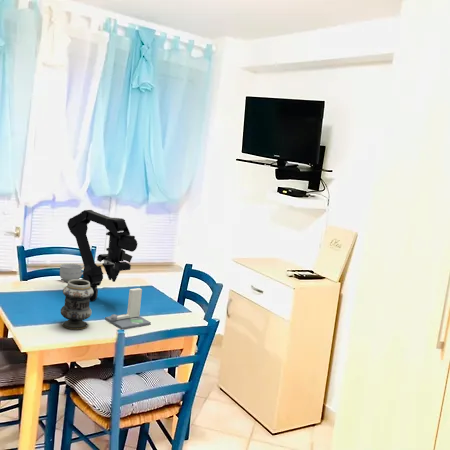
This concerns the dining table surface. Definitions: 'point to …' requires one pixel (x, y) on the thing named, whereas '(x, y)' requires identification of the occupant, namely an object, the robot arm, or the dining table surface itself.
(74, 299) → the grey ornate vase
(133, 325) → the dial board
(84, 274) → the robot arm
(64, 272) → the teacup
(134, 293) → the dial crank handle
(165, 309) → the dining table surface
